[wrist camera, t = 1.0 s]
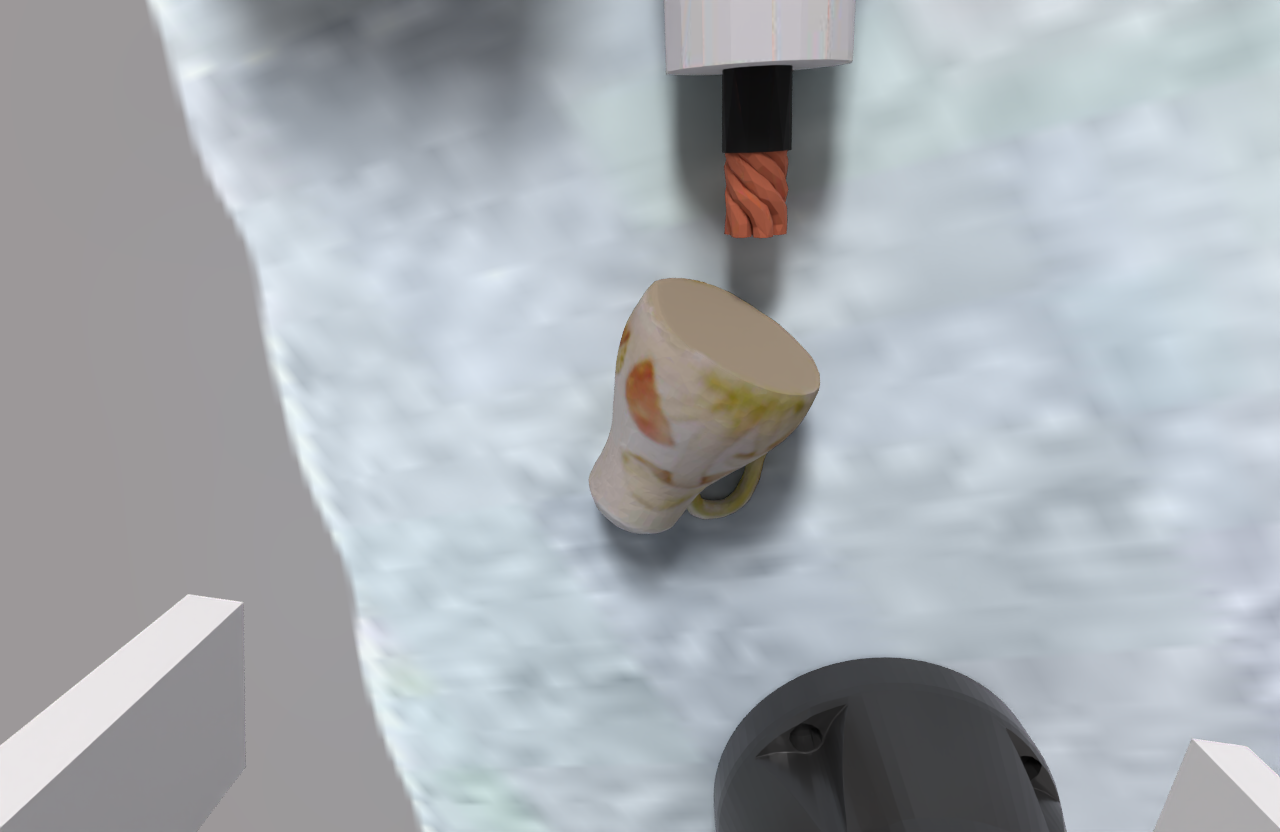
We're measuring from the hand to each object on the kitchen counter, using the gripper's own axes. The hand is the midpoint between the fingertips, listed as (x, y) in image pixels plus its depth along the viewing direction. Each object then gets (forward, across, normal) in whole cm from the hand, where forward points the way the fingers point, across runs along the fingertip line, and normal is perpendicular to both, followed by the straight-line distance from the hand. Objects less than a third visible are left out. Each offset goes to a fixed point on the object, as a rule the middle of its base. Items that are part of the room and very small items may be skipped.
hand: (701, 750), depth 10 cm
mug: (+21, 0, +1) cm, 21 cm away
